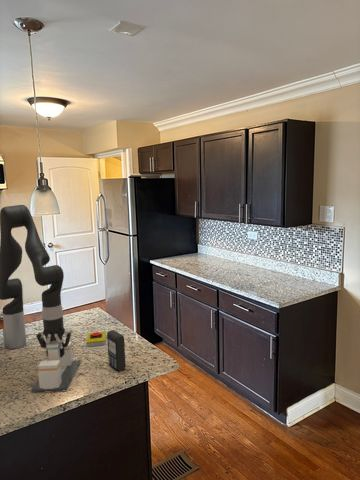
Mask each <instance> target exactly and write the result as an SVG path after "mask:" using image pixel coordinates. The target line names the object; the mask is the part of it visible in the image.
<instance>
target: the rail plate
mask: <svg viewBox="0 0 360 480" xmlns="http://www.w3.org/2000/svg"><path fill="white" fill-rule="evenodd" d="M80 365H81V360H80V359H78V360H76V359H75V360H74V359H73V362H72V364H71V366H60V368H61V381H62V382H61V384H60V386H59V388H40V386H39V378H38V379H37V380H36V382H35V383H34V385H33V386H32V387H31V389H30V391H31V392H32V393H46V392H45V391H55V392H64V391H63V390H67V391H68V389H69V387H70V385H71V383H72V380H73V379H74V377H75V375H76V373H77V372H78V371H77V370H78V369H79V366H80ZM68 386H69V387H68ZM67 388H68V389H67Z"/></svg>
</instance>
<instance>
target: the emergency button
mask: <svg viewBox="0 0 360 480" xmlns="http://www.w3.org/2000/svg"><path fill="white" fill-rule="evenodd" d="M106 346H107V332H106V331H96V332H89V333H87V338H86V345H85V347H86V348H85V349H86V350H95V349H96V350H97V349H103V348H106Z"/></svg>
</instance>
